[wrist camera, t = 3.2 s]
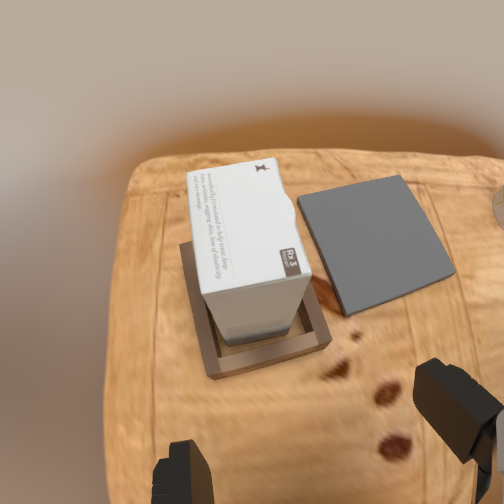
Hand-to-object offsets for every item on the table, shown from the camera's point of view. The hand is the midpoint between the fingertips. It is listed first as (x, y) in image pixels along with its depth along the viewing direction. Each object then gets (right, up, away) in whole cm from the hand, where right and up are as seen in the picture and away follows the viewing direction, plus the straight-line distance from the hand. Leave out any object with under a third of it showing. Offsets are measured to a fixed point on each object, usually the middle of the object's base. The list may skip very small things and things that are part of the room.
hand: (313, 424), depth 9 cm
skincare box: (-2, +1, +21) cm, 21 cm away
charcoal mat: (+12, +7, +23) cm, 27 cm away
